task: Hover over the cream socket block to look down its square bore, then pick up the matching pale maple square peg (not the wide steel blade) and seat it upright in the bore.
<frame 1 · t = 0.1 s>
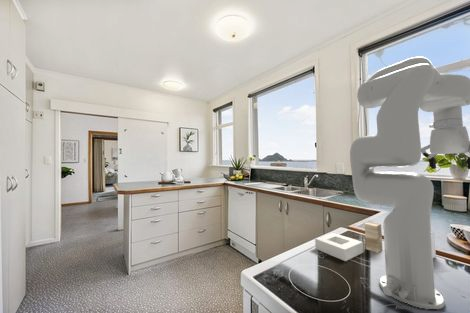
hand: (450, 168, 75), 31 cm above the counter, fingers open, 9 cm apart
steel blade bit: (426, 257, 69), on the counter
socket block: (338, 250, 76), on the counter
maple square peg: (374, 249, 76), on the counter
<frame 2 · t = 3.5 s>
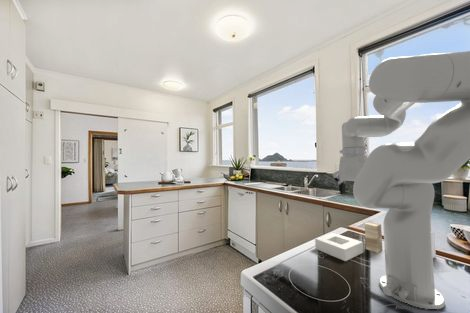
hand: (355, 195, 77), 21 cm above the counter, fingers open, 9 cm apart
nothing on the counter moved.
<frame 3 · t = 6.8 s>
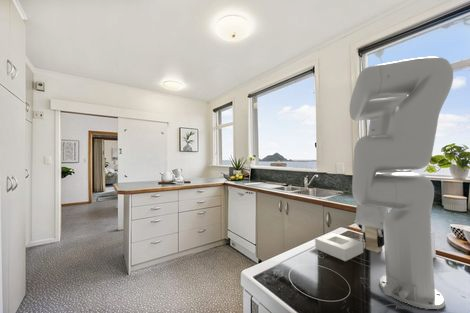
hand: (373, 243, 76), 2 cm above the counter, fingers closed on maple square peg, 4 cm apart
maple square peg: (374, 249, 76), on the counter, touching gripper
everything else where it was.
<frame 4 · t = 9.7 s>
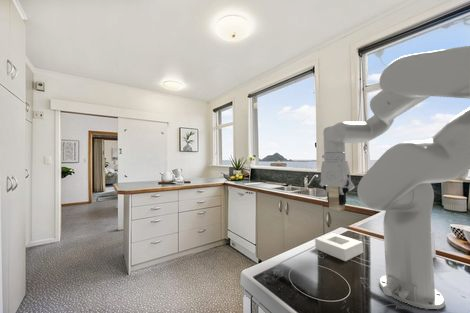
hand: (336, 203, 76), 18 cm above the counter, fingers closed on maple square peg, 4 cm apart
maple square peg: (336, 209, 76), point 16 cm above the counter, touching gripper
everything else where it was.
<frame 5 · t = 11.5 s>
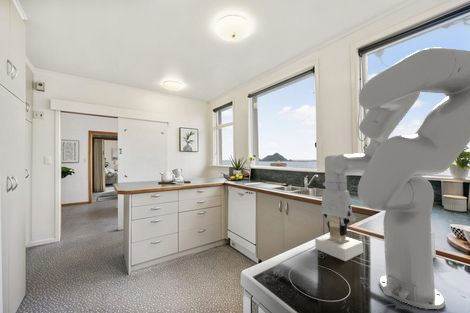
hand: (337, 232, 76), 7 cm above the counter, fingers closed on maple square peg, 4 cm apart
maple square peg: (337, 238, 76), point 5 cm above the counter, touching gripper
everything else where it was.
when the fingers open (4 cm above the counter, at t = 12.8 s): maple square peg drops 2 cm, resting in socket block.
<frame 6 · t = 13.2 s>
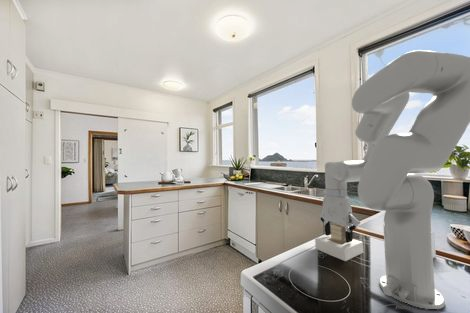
hand: (338, 237, 76), 5 cm above the counter, fingers open, 7 cm apart
maple square peg: (339, 250, 75), resting in socket block
everything else where it was.
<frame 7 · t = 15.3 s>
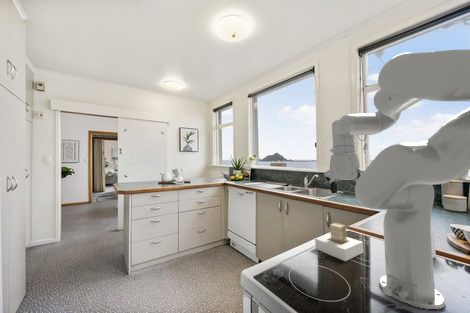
hand: (346, 194, 76), 22 cm above the counter, fingers open, 9 cm apart
nothing on the counter moved.
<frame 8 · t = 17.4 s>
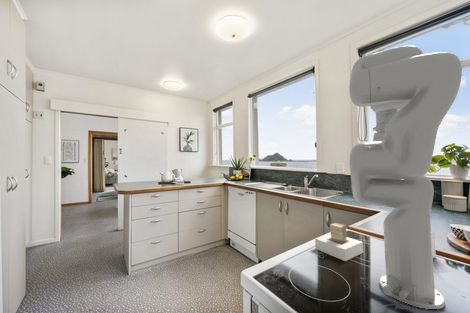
hand: (390, 171, 75), 30 cm above the counter, fingers open, 9 cm apart
nothing on the counter moved.
at the end: maple square peg 0.2 cm off-centre on the socket block, point 0.0 cm above the socket block's base; maple square peg tilted 0°; the gripper is holding nothing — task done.
